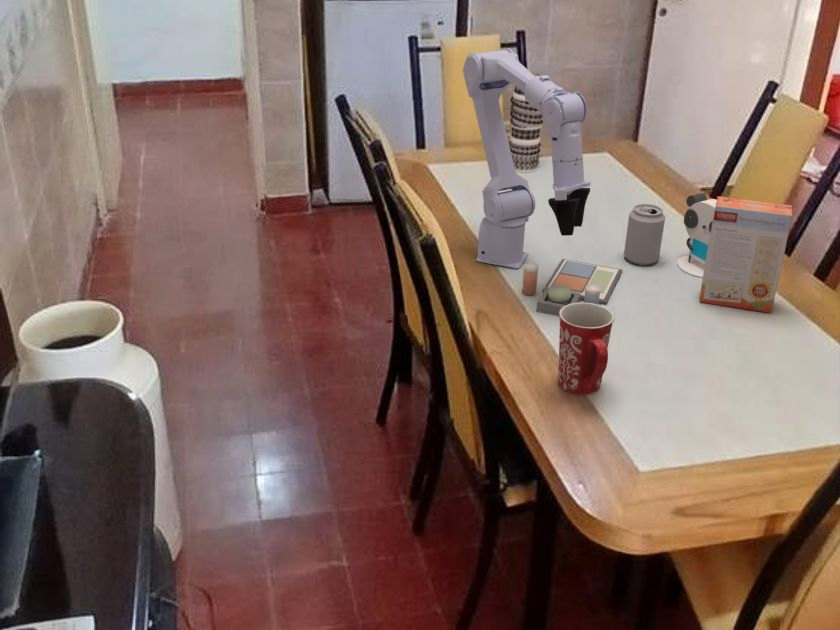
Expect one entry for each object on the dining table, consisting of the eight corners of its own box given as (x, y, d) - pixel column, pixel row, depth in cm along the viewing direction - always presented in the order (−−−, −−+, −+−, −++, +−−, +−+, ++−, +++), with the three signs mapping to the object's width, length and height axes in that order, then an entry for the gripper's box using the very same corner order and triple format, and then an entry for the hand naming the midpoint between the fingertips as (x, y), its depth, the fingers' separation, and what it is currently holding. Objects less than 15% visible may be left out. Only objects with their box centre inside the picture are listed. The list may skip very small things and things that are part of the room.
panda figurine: (663, 261, 206) (674, 196, 198) (702, 250, 211) (713, 187, 203) (704, 283, 197) (716, 216, 189) (743, 272, 202) (756, 206, 194)
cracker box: (772, 301, 190) (793, 204, 180) (771, 314, 185) (793, 215, 175) (700, 289, 194) (717, 193, 184) (697, 302, 189) (715, 204, 179)
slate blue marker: (580, 317, 183) (583, 289, 180) (584, 310, 185) (587, 282, 182) (595, 320, 182) (598, 292, 179) (598, 313, 184) (602, 285, 181)
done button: (545, 301, 184) (546, 292, 183) (551, 292, 188) (552, 283, 187) (567, 306, 183) (568, 296, 182) (572, 296, 187) (573, 287, 186)
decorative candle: (504, 172, 252) (510, 78, 240) (507, 160, 260) (513, 69, 248) (538, 174, 251) (546, 80, 239) (540, 162, 259) (548, 71, 247)
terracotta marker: (520, 294, 191) (522, 266, 188) (524, 288, 193) (526, 261, 190) (533, 296, 190) (536, 269, 187) (537, 290, 192) (540, 263, 189)
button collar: (536, 310, 185) (537, 301, 184) (545, 295, 190) (546, 286, 189) (571, 318, 182) (572, 308, 181) (579, 302, 188) (581, 293, 187)
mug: (545, 371, 165) (552, 303, 159) (594, 367, 167) (603, 299, 160) (568, 412, 154) (576, 341, 148) (620, 407, 156) (631, 337, 149)
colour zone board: (542, 292, 191) (542, 288, 191) (562, 261, 204) (562, 257, 204) (606, 305, 187) (606, 300, 187) (622, 272, 200) (622, 268, 200)
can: (658, 268, 202) (666, 216, 196) (623, 265, 204) (630, 213, 198) (658, 254, 209) (666, 203, 203) (623, 250, 210) (630, 200, 204)
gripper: (580, 164, 170) (584, 238, 174) (596, 152, 183) (600, 222, 187) (541, 166, 173) (546, 239, 177) (560, 154, 186) (565, 223, 189)
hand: (571, 230), depth 182 cm, fingers open, 7 cm apart
